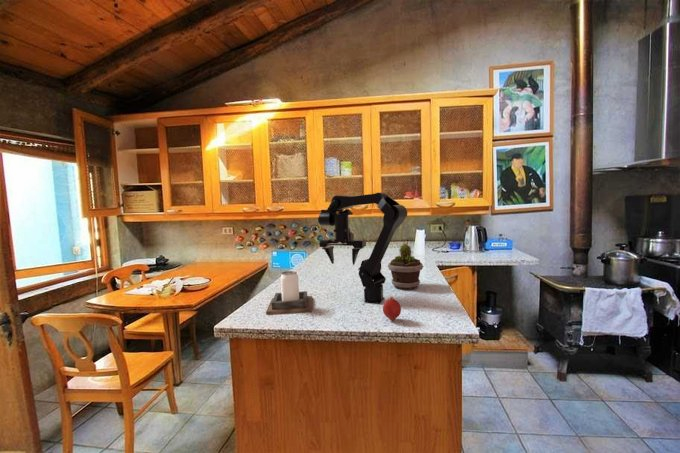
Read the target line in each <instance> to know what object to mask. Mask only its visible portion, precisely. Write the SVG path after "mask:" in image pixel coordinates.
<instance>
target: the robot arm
mask: <svg viewBox="0 0 680 453" xmlns="http://www.w3.org/2000/svg"><path fill="white" fill-rule="evenodd" d="M371 204H372V205H373V204H376V206H378V209H379V211H380V212H382V213H383V218H382V223H383V226H382V229H381V231H380V233H379V235H378V237H377V240H376V242H375V244H374V247H373V248H372V251H371V254H370V256H369V258H367V259H363V260H362V261H361V262H360V266H359V268H358V269H357V270H358V276H359V278H360V282H361V284H362V287H364V288H363V294H364V295H363V298H364V301H363V302H364V303H368V304H370V303H373V304H382V302H383V301H384V300H385V297H384V284H385V283H386V281H387V279H386V277H385V276H384V274H383V273H382V272H381V271H382V260H383V259H384V257H385V254H386V251H387V250H388V247H389V245H390V243H391V240H392V239H393V236H394V234H395V232H396V230H397V229H398V228H399V227H401V225H402V224H403V223H404V221H405V219H406V218H407V217H408V210H407V208H406V206H404V205H403V204H400V203H399V202H397V201H396V200H395V199H393V198H392V197H390V196H389V195H388V194H386V192H375V193H369V194H361V195H360V194H359V195H349V194H347V195H344V194H343V195H342V194H341V195H338V194H337V195H334V196H332V197H331V201H330V203H329V205H328V207H327V209H321V210H320V213H319V215H318V217H317V222H318V224H319V225H320V226H325V227H326V226H328V227H334V229H333V233H334V237H335V238H334V239H333V238H323V239H320V240H319V243H318V246H319V248H321V249H322V250H324V252H325V253H326V254H327V256H328V258H329V261H330V262H331V264H332V265H333V264H335V258H334V257H335V256H334V246H344V247H345V246H350V247H351V246H352V247H353V248H351V259H352V262H351V263H352V265H353V266H354V265H355V264H356V262H357V258H358V254H359V252H360V251H361V250H362V249H364V248H365V247H367V241H366V239H363V238H356V239H355V238H354V237H355V234H354V233H353V232H351V227H350V226H349V224H350V222H349V221H350V220H349V219H350V218H349V216H351V215H354V213H353V212H352V211H351V210H350V208H353V207H356V206H362V205H363V206H364V205H371Z"/></svg>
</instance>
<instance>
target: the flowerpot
mask: <svg viewBox="0 0 680 453" xmlns="http://www.w3.org/2000/svg"><path fill="white" fill-rule="evenodd" d="M412 249H413V248H412V246H410V245H409V244H408V242H402V243H401V245H400V246H399V250H398V252H399V254H396V255H395V256H394V258H393V259H391V261H390V262H388V265H387V268H388V270H389V271H390V272H391V276H392V279H391V283H392V285H393V286H394V288H395V289H398V290H402V291H403V290H405V291H409V290H411V289H412V290H415V289H417V288H418V286H420V283H421V280H420V274H421V271H422V270H423V268H424V265H423V263H422V262H421V260H420V259H417V258H416V257H415V256H413V255H412V253H413V250H412Z"/></svg>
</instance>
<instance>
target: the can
mask: <svg viewBox="0 0 680 453" xmlns="http://www.w3.org/2000/svg"><path fill="white" fill-rule="evenodd" d="M299 286H300V285H299V275H298V274H297V271H294V270H288V271H283V272H281V276H280V288H281V292H280V293H282V301H295V300H299V292H300V288H299Z"/></svg>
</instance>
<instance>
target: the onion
mask: <svg viewBox="0 0 680 453" xmlns="http://www.w3.org/2000/svg"><path fill="white" fill-rule="evenodd" d="M401 312H402V307H401V304H400V303H399V301H397V300H396V299H395V298H394V296H390V297H389V298H388V299H387V300H386V301H385V302H384V304H383V306H382V313H383V315H384V316H385V317H386V318H387V319H388V320H390V321H392V322H393V321H395V320H396V319H397V318H398V317H400V315H401Z"/></svg>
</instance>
